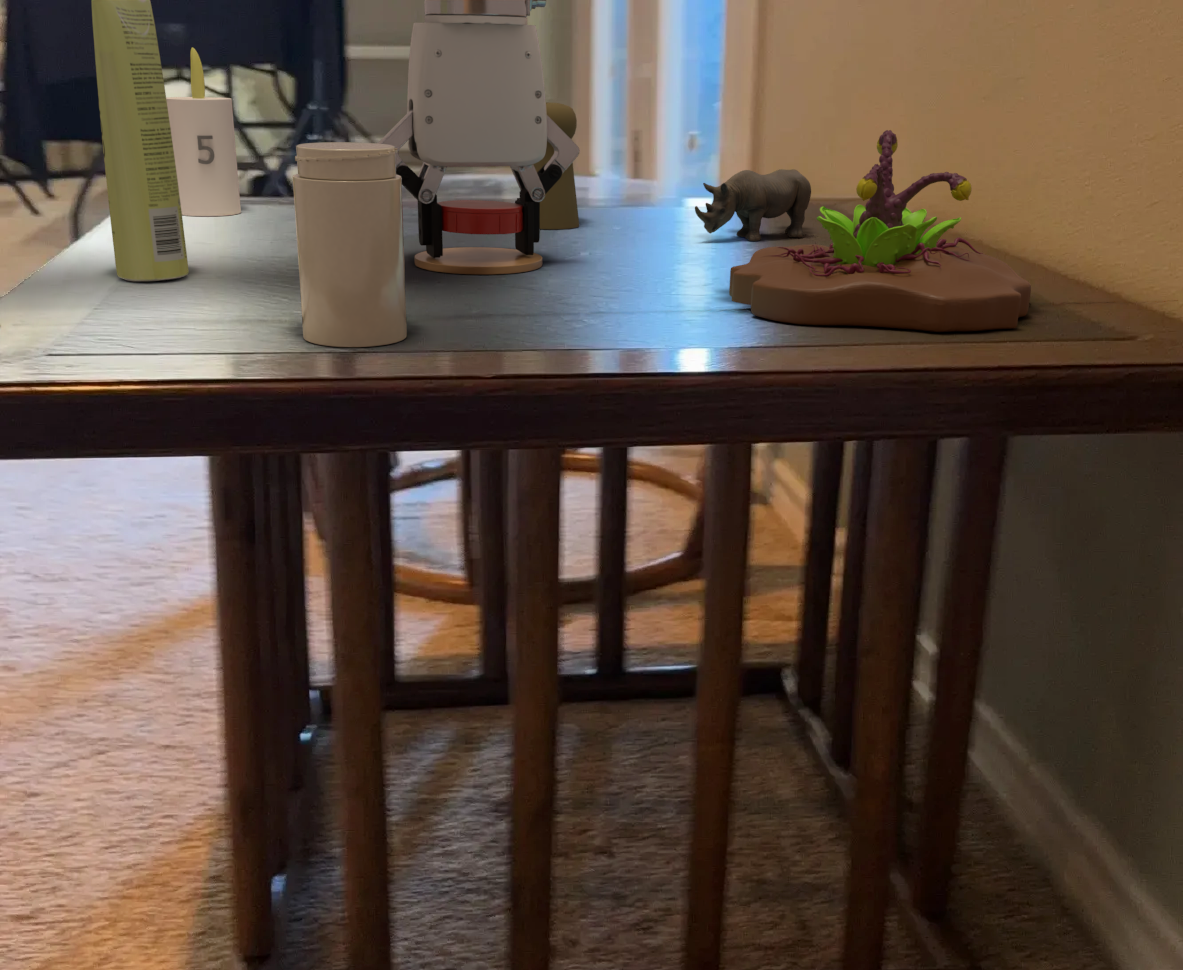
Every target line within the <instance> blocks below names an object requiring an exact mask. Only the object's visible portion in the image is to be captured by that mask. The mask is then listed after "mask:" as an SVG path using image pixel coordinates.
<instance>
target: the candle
mask: <svg viewBox="0 0 1183 970" xmlns="http://www.w3.org/2000/svg"><path fill="white" fill-rule="evenodd" d="M197 51H198V50H196V48H194V47H191V49H190V56H189V57H190V89H191V90H190V91H191V96H166V100H167V107H168V114H169V121H170V128H171V136H172V143H173V150H174V158H175V165H176V172H177V180H178V188H179V196H180V203H181V211H182V216H185V217H186V216H187V217H188V216H189V217H223V216H234V215H239V214H241V213H242V207H241V197H240V184H239V183H240V182H239V172H238V159H237V149H236V148H237V147H236V146H237V145H236V135H235V123H234V112H233V100H232V97H231V98H230V97H216V96H215V97H214V96H206V85H205V74H204V68H203V64H202V61H201V58H200V55H199V53H198V52H197Z"/></svg>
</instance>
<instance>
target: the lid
mask: <svg viewBox="0 0 1183 970" xmlns="http://www.w3.org/2000/svg"><path fill="white" fill-rule="evenodd" d="M437 203H438V204H439V205H441V208H442V232H447V233H453V234H465V235H511V234H515V233H518V232H521V231H522V229H523V211H522V210H523V206H522V205H519V204H516V203H515V202H510V201H509V202H507V201H499V200H498V201H497V200H479V199H478V200H476V199H475V200H474V199H473V200H472V199H467V200H466V199H463V200H461V199H460V200H459V199H457V200H456V199H455V200H444V201H443V200H442V201H437Z"/></svg>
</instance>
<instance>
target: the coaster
mask: <svg viewBox="0 0 1183 970" xmlns="http://www.w3.org/2000/svg"><path fill="white" fill-rule="evenodd" d="M414 265H415V266H416V267H417V268H420V269H422V270H426V271H430V272H436V273H444V274H454V275H455V274H456V275H476V276H477V275H478V276H479V275H480V276H482V275H487V276H489V275H490V276H491V275H508V274H509V275H511V274H518V273H525V272H531V271H535V270H538V269H540V268H541V267H543V257H542V255H540V254H539V253H536V252H534V254H533V255H525V254H523V253H522V252H520V251H518V250H517V249H516V248H504V247H489V246H488V247H487V246H485V247H484V246H483V247H481V246H467V247H466V246H464V247H463V246H462V247H445V248H443V256H440V258H433V257H431V256H430V255H429V254H428V253H427V251H426V250H424V251H421V252H418V253H416V254H414Z"/></svg>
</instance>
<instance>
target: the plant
mask: <svg viewBox="0 0 1183 970" xmlns="http://www.w3.org/2000/svg"><path fill="white" fill-rule="evenodd" d="M898 143H899V141H898V137H897V135H896V134H895V133H894V132H893V130H891V129H889V130H888V129H886V130H884V131H883V132H882V134H880V135H879V137H878V139H877V142H876V150H877V153H878V154H879V155H880V156H879V158H878V163H879V164H878V163H874V165H872V167H871V169H870V170H869V172H867V173H866V175H864V176H863V177H862V178H861V179H859V181H858V183H857V185H856V195H857V196H858V197H859V198H860V199H861V200H862V201H863V202H865V201H866V200H867V201H866V203H865V206H864V205H863V204H857V205H856V206H855V208H853V209H854V210H853V219H852V220H851V219H850V218H849V217H847V216H846V215H845V214H843V213H841V212H839V211H837V210H834V209H830V208H827V207H825V206H823V205H822V206H820V207H819V212H820V213H821V214H822V215H823V216H821V215H818V216H817V217H816V220H817V221H818V222H819V223H820V224H821V227H822V228H824V230H826V231H827V233H828V234H829V239H830V240H831V242H832V243H830V244H829V246H827V245H823V244H816V242H814V244H808V243H807V244H797V245H789V246H778V245H777V246H768V247H764V248H760V249H757V250H756V251H754V252H753V253H752V256H751V257H750V260H749V262H747V263H744V264H740V265H735V266H732V267H730V269H729V270H730V272H729V287H728V289H729V291H728V293H729V294H728V295H729V296H730V297H731V302H734V303H738V304H743V305H748V306H750V307H747V308H746V307H745V308H743V309H744V310H750V313H751V314H752V315H753V316H755V317H757V318H761V319H765V320H770V321H775V322H778V323H779V322H780V323H786V324H793V325H803V326H804V325H805V326H835V327H837V326H853V327H870V328H884V329H885V328H887V329H899V330H901V329H902V330H913V331H924V332H930V333H933V332H934V333H951V332H983V331H993V330H1012V329H1016V328H1018V322H1019V318H1023V317H1026V316H1027V315H1028V312H1029V308H1030V300H1031V294H1032V286H1031V285H1032V284H1031V283H1030V282H1029V281H1028V280H1026V279H1024V278H1022V277H1021V276H1020V275H1018V274H1017V273H1016V272H1015V270H1014V269H1013V268H1012V267H1011V266H1010V265H1009V264H1008V263H1006V262H1005V261H1002V260H1000V259H998V258H997V257H994V256H991V255H988V254H985V253H984V252H979V251H978V250H976V249H975V248H974V247H973V245H972V244H971V243H970V242H969V241H968V240H966V239H965V238H962V237H960V236H959V237H955V239H954V241H953V242H947V239H946V238H941V237H942V236H943V235H944V233H946V232H947V231H949V230H951V229H954V228H955V226H956V225H957V224H959V223H960V222H961V221H962V217H960V216H959V217H957V218H952V219H948V220H943V221H942V222H940V223H937V224H936V225H934V226H932V225H933V224H935V223H936V222H937V219H938V217H937V216H933V217H931V218H930V219H928V220H926V221H925V219H926V217H927V214H928V211H927V209H926V208H920V209H918V210H915V211H914V212H912V211H911V210H910V209H909V208H908V207H907V204H908V203H909V202H910V201H911V200H912V199H913V198H914V197H915V196H917V195H918V193H920V192H921V191H922V190H924V189H925V188H926V187H928V186H931V185H932V184H935V183H941V182H946V183H948V184H949V190H950V194H951V196H952V198H953V199H954V200H955V201H960V202H963V201H969V200H970V199H969V197H970V196H971V194H972V184H971V183H970V181H969V180H968V178H966V177H965V176H963V175H960V174H958V173H957V172H949V171H944V172H936V173H935V172H932V173H929V174H928V175H927V174H926V175H922V176H921V177H920V178H919V179H917V180H915V182H912V183H911V185H909V186H908V187H907V188H905V189H904V190H902V191H900V192H899V193H897V194H895V193H896V192H895V185H894V184H893V175H894V173H893V172H894V170H893V157H892V156H894V155H893V154H895V153H896V152H897V149H898V148H899V147H898V145H899V144H898ZM930 226H932V227H931V228H930V229H929V230H927V229H928V228H929V227H930ZM926 230H927V231H926ZM940 238H941V239H940ZM958 243H961V244H964V245H966V246H967V247H969V248H970V249H971V250H972V251H970V250H968V249H966V248H964V247H962V246H958Z"/></svg>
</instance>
